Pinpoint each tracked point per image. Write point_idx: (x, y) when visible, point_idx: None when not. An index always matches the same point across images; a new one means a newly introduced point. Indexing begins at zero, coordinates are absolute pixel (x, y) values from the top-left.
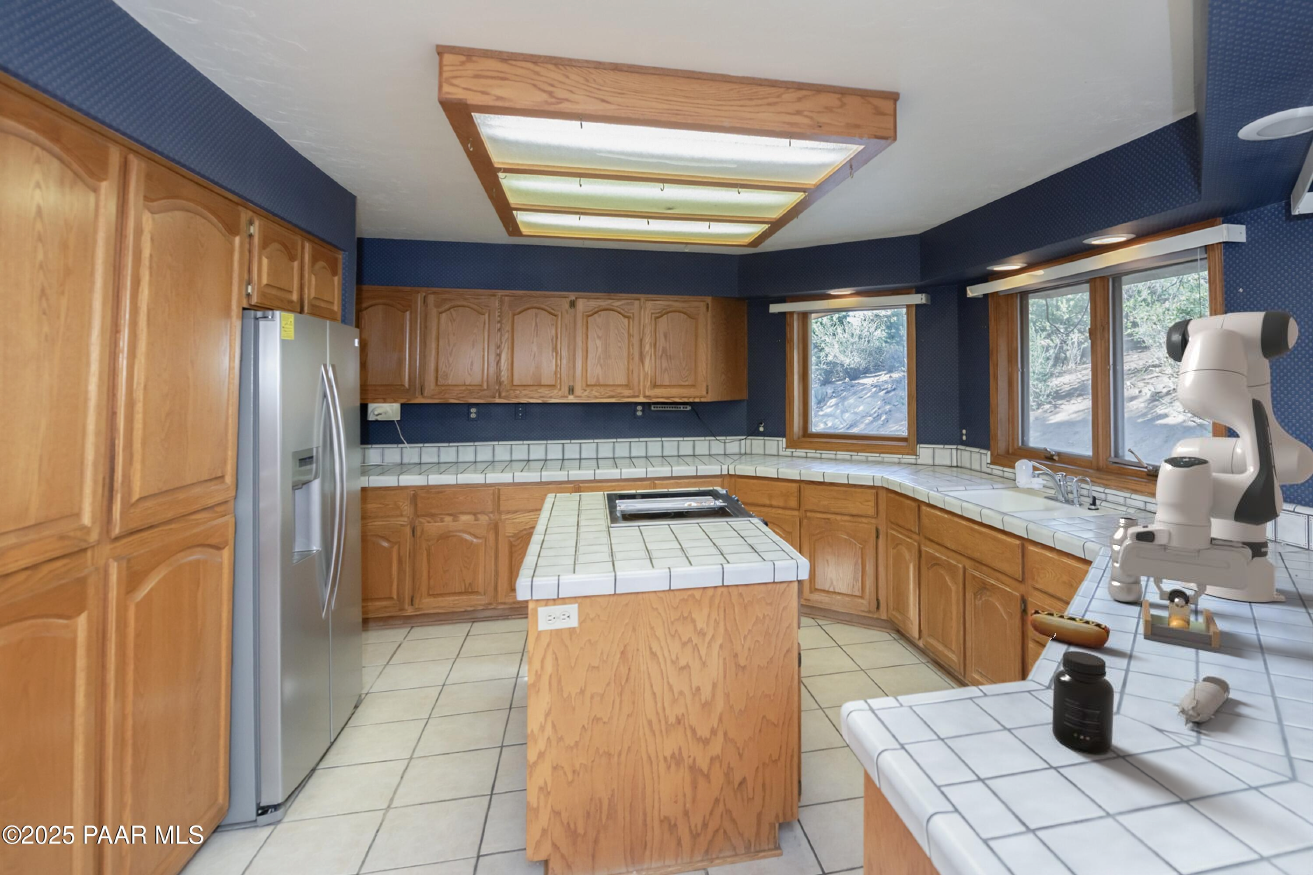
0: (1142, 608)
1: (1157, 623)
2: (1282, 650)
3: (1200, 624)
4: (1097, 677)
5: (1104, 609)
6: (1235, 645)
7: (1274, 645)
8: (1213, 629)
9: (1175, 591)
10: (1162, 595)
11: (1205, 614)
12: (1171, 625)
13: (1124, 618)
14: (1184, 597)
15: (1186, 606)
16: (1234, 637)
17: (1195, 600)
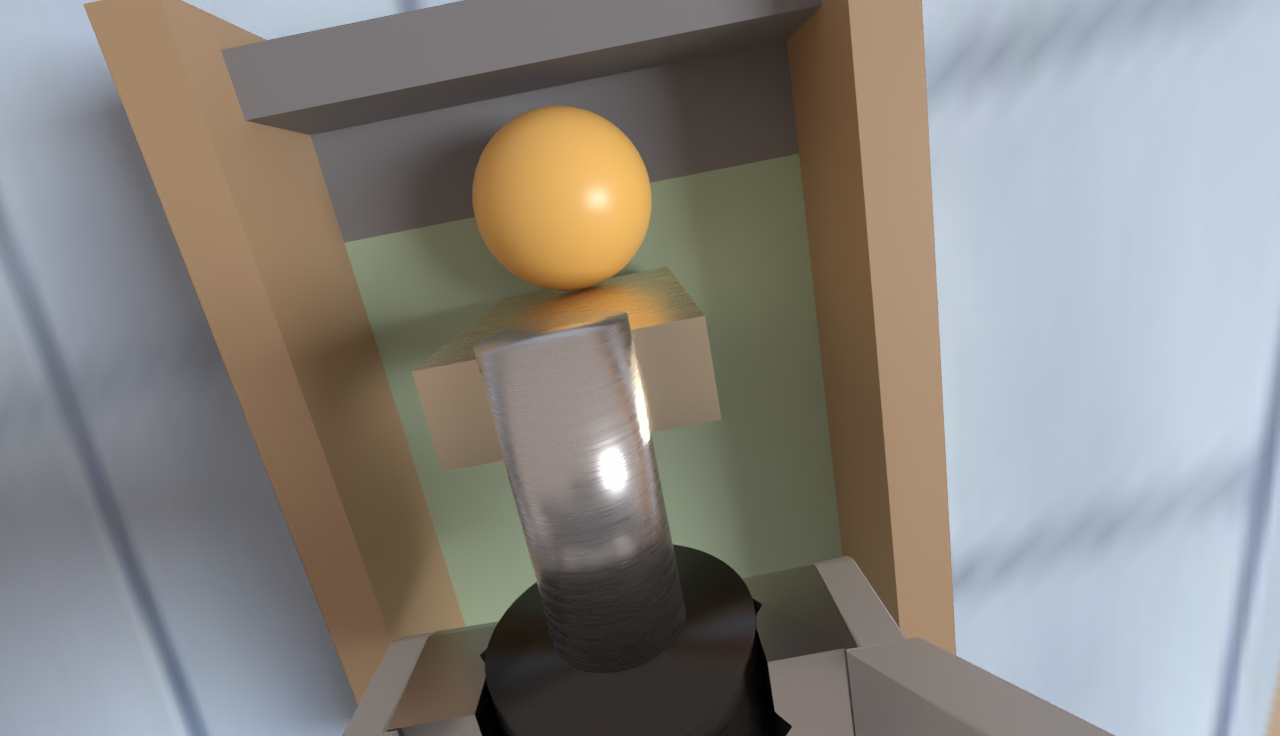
0: None
1: (765, 435)
2: (5, 566)
3: None
4: None
5: (1126, 618)
6: (241, 425)
7: (78, 644)
8: (175, 82)
9: (680, 726)
10: (841, 596)
11: None
12: (628, 140)
13: (987, 492)
14: (543, 670)
15: (473, 359)
16: (302, 627)
17: (404, 679)
